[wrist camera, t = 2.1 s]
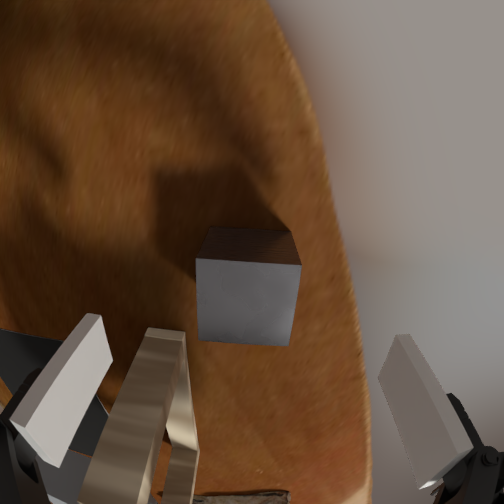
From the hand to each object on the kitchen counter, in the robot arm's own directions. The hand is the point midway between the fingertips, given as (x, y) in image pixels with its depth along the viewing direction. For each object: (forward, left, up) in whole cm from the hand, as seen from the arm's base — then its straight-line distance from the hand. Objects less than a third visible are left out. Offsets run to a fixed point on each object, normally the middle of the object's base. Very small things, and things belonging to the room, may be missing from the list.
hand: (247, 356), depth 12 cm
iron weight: (0, 0, -8) cm, 8 cm away
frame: (+16, -6, -8) cm, 19 cm away
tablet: (+24, -25, -9) cm, 36 cm away
